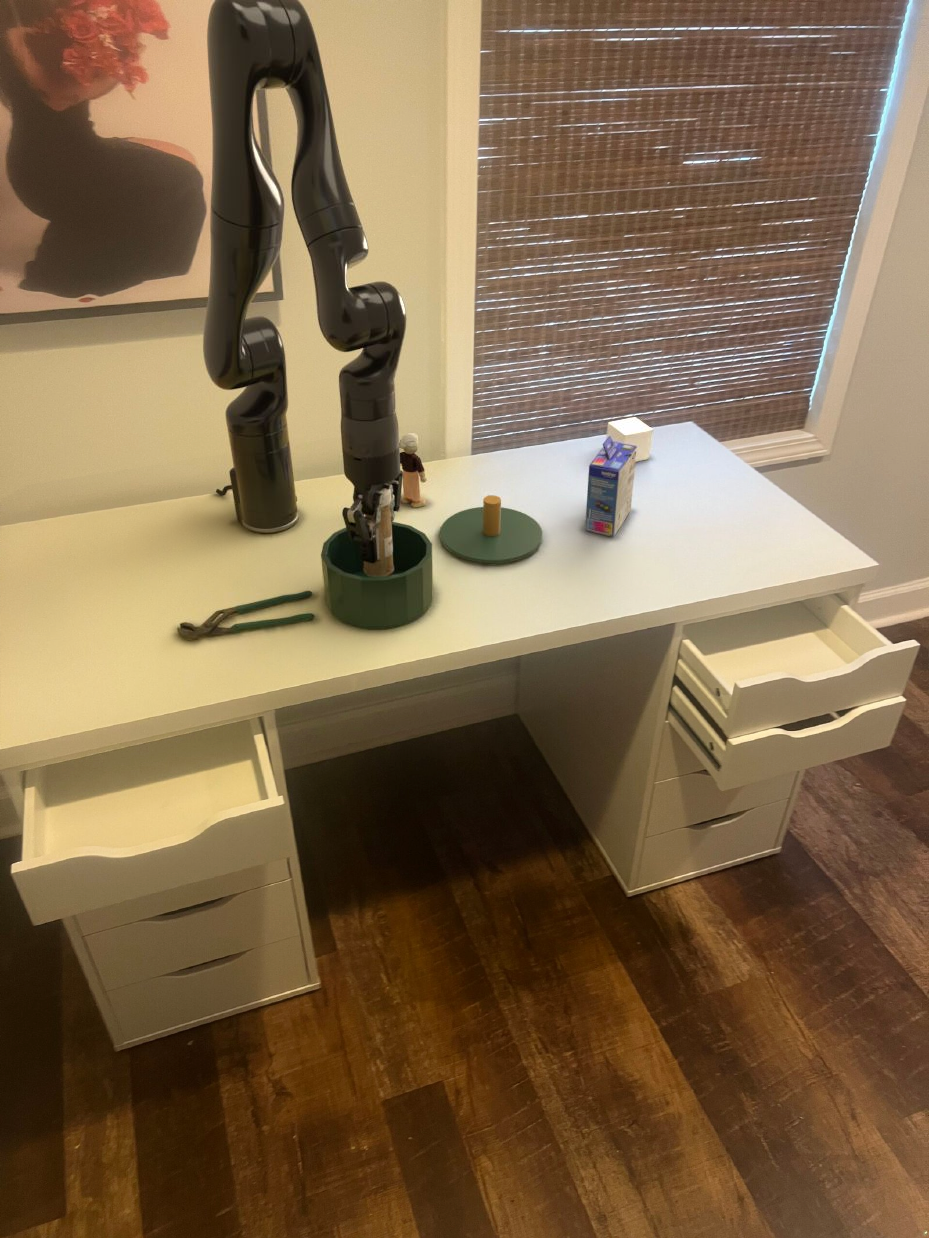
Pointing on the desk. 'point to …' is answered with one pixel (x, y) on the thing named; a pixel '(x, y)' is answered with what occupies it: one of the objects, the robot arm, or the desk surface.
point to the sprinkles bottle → (382, 541)
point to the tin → (378, 581)
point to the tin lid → (491, 533)
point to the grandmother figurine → (411, 470)
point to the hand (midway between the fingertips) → (377, 551)
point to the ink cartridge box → (610, 487)
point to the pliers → (212, 628)
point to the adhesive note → (632, 435)
